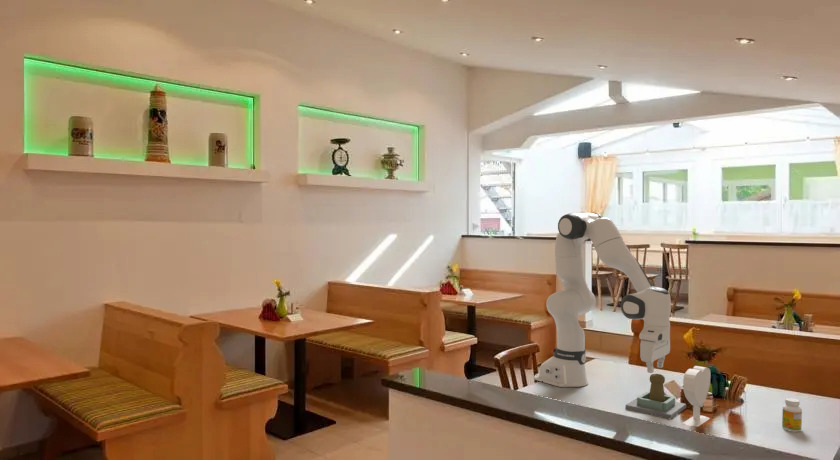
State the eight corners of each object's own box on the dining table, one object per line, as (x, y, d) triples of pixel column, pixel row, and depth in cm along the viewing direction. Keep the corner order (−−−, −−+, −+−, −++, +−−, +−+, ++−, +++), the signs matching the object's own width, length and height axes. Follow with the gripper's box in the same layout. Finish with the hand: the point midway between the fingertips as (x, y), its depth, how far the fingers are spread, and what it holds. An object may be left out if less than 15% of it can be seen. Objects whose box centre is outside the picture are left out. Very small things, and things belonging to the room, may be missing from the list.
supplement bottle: (778, 426, 199) (778, 397, 199) (793, 426, 200) (794, 397, 199) (789, 432, 194) (790, 402, 194) (805, 431, 194) (805, 402, 194)
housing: (625, 409, 216) (625, 398, 216) (642, 398, 228) (642, 388, 228) (670, 419, 206) (671, 407, 206) (686, 407, 218) (686, 397, 218)
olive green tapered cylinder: (666, 407, 213) (667, 377, 213) (648, 406, 215) (649, 375, 215) (664, 402, 219) (665, 373, 219) (647, 401, 221) (647, 371, 220)
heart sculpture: (697, 413, 212) (698, 363, 211) (712, 417, 208) (713, 365, 208) (680, 424, 201) (681, 371, 200) (695, 428, 197) (696, 374, 197)
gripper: (658, 326, 226) (656, 362, 227) (637, 335, 211) (635, 373, 212) (675, 329, 222) (673, 366, 223) (655, 337, 207) (653, 377, 208)
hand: (655, 369), depth 217 cm, fingers open, 8 cm apart
